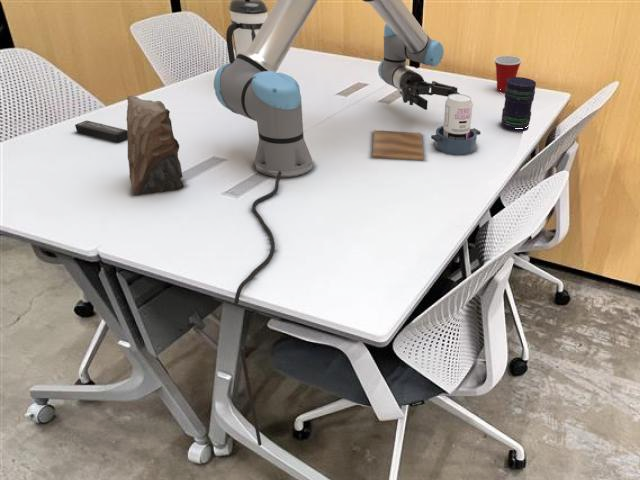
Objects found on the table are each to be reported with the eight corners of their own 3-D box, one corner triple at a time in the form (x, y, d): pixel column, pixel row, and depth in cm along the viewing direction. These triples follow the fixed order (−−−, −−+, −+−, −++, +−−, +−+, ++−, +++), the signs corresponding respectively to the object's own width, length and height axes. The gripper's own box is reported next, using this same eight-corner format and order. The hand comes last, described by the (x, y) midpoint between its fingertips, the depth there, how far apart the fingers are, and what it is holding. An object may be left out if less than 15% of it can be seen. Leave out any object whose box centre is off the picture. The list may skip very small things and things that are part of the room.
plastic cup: (485, 87, 234) (489, 55, 226) (508, 85, 238) (513, 54, 230) (498, 95, 227) (502, 63, 219) (522, 94, 231) (527, 62, 223)
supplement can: (453, 139, 187) (457, 91, 178) (473, 147, 184) (478, 98, 174) (436, 145, 182) (440, 96, 173) (457, 154, 179) (461, 104, 169)
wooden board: (423, 160, 173) (423, 157, 172) (372, 157, 171) (372, 155, 170) (420, 135, 188) (421, 132, 187) (374, 132, 186) (374, 130, 186)
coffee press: (232, 77, 217) (218, -16, 198) (276, 77, 221) (267, -14, 202) (233, 92, 204) (219, -6, 185) (280, 91, 209) (271, -4, 190)
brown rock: (138, 173, 151) (117, 93, 138) (191, 172, 154) (174, 94, 141) (131, 195, 141) (107, 112, 129) (187, 193, 145) (169, 112, 132)
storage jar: (531, 124, 204) (538, 80, 195) (526, 133, 197) (534, 88, 188) (503, 119, 206) (509, 75, 196) (497, 128, 199) (504, 82, 189)
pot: (488, 150, 183) (489, 135, 180) (444, 158, 175) (445, 143, 172) (465, 135, 191) (466, 122, 188) (422, 143, 183) (423, 129, 180)
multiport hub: (118, 143, 164) (115, 134, 162) (76, 132, 167) (74, 124, 165) (129, 137, 167) (127, 129, 166) (88, 127, 170) (86, 120, 169)
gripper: (439, 90, 202) (475, 110, 189) (376, 98, 190) (410, 120, 177) (441, 67, 197) (478, 86, 184) (376, 73, 185) (411, 94, 172)
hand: (444, 102), depth 181 cm, fingers open, 13 cm apart
